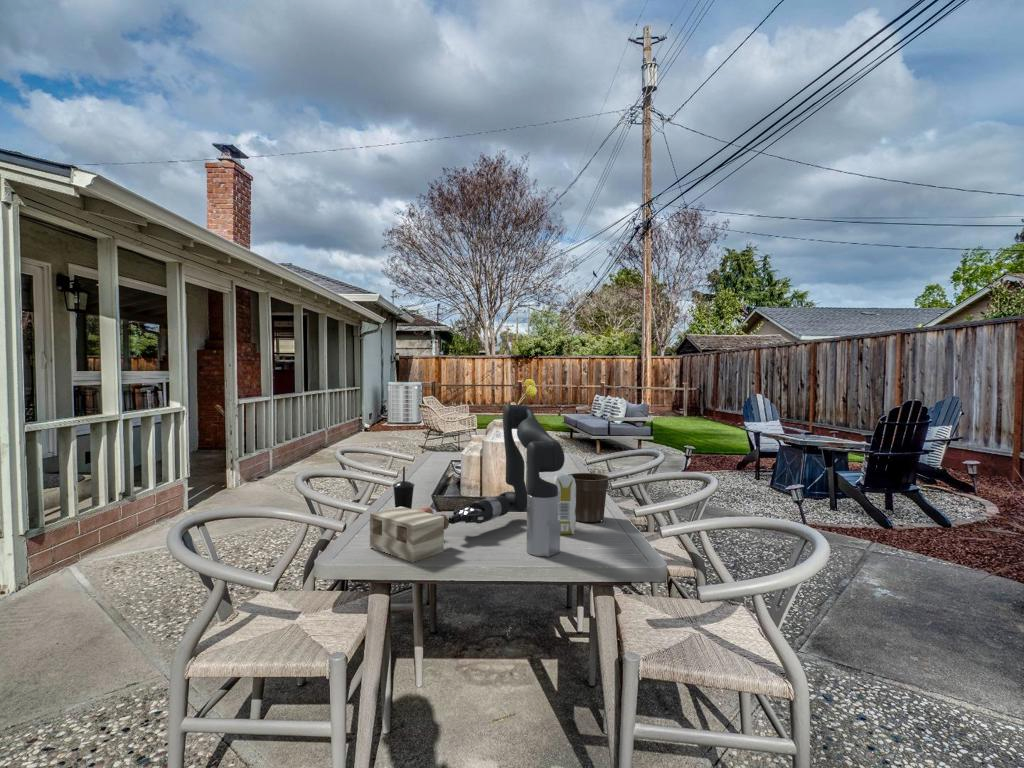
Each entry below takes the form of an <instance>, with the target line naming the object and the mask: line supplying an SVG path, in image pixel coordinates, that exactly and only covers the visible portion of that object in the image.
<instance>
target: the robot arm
mask: <svg viewBox="0 0 1024 768" xmlns="http://www.w3.org/2000/svg"><path fill="white" fill-rule="evenodd" d="M502 428H503V429H502V430H503V441H504V443H503V444H504V451H505V484H507V485H509V486H511V487H513V490H514V491H505V492H501V493H500V494H499V495H496V496H493V497H487V498H483V499H479V500H475V501H473V502H471V503H470V505H469V506H468V507H465V508H462V509H461V510H460V509H459V508H457V507H455V508H454V510H453V514H452V515H450V516H449V515H448V517H447V518H448V520H449V525H454V524H458V523H465V524H468V523H469V524H472V523H473V524H474V523H475V524H478V525H479V524H484V523H486V522H489V521H492V520H493V521H494V520H496V518H500V517H503V516H505V515H507V514H508V513H509V512H516V513H522V512H525V511H526V553H528V554H529V555H532V556H536V557H546V558H550V557H552V556H554V555H556V554H558V553H560V552H561V534H560V520H557V517H558V487H557V485H555V484H553V482H550V481H547V480H545V479H543V478H541V476H540V473H555V472H558V471H560V470H561V469H562V468H563V467H564V464H565V452H564V450H563V446H562V445H561V444H560V442H559V441H557V440H556V439H555V438H553V437H552V436H551V435H550V434H549V433H548V432H547V431H546V429H545V428H544V427H543V425H542V424H541V423H540V422H539V420H538V419H537V418H536V416H535V414H534V411H533V409H532V408H531V407H530V406H529V405H524V404H506V405H505V406H504V408H503V411H502ZM513 430H516V435H517V439H518V440H519V442H520V444H521V446H523V448H525V449H526V465H525V460H524V457H523V455H522V453H521V451H520V450H519V448H518V446H517V444H516V442H515V440H514V436H513V435H514V434H513ZM525 466H526V473H527V474H526V478H527V479H526V480H527V481H526V482H527V483H525ZM526 484H527V485H526Z"/></svg>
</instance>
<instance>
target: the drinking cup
mask: <svg viewBox="0 0 1024 768" xmlns="http://www.w3.org/2000/svg"><path fill="white" fill-rule="evenodd" d="M405 473H406V467H405V466H403V467H402V481H400V480H399V481H398V482H396V483H393V485H392V488H393V497H394V508H396V507H406V508H410V509H412V505H413V497H414V489H415V485H416V484H415V483H414V482H413V483H412V482H410V481H407V480H405V479H406V477H405V475H406V474H405Z"/></svg>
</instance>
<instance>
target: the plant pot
mask: <svg viewBox="0 0 1024 768" xmlns="http://www.w3.org/2000/svg"><path fill="white" fill-rule="evenodd" d="M567 475H572V477H573V478H574V479H575V484H576V521H577V522H579V521H581V522H580V523H584V522H595V523H597V522H599V521H601V520H603V519H604V518H605V509H606V499H607V489H608V487H609V480H610V478H611V477H610V476H609V475H607V474H601V473H592V472H575V473H574V472H573V473H569V474H567ZM603 521H604V520H603ZM601 522H602V521H601Z"/></svg>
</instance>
